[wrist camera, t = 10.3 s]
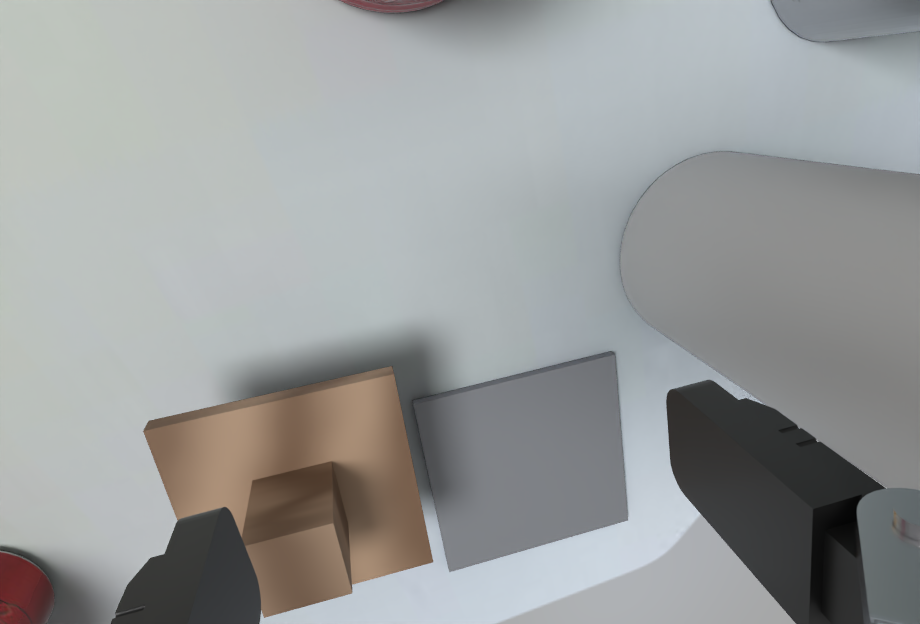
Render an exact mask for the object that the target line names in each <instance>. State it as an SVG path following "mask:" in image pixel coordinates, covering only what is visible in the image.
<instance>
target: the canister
mask: <svg viewBox="0 0 920 624" xmlns="http://www.w3.org/2000/svg"><path fill="white" fill-rule="evenodd" d="M340 1H342V2H344V3H346V4H349V5H352V6H355V7H358V8H361V9H365V10H370V11H375V12H384V13H401V12H410V11H416V10H420V9H424V8H427V7H430V6H433V5H436V4H438V3H440V2H442V1H444V0H340Z"/></svg>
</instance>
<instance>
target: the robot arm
mask: <svg viewBox="0 0 920 624" xmlns="http://www.w3.org/2000/svg"><path fill="white" fill-rule="evenodd" d="M772 3H773V6H774V8H775V10H776V12H777V14H778V16H779V18H780V19H781V20H782V21H783V22H784V24H785V25H786V26H787V27H788V28H789V29H790V30H791V31H793V32H794V33H795V34H797V35H798V36H800V37H802V38H805V39H808V40H811V41H818V42H830V41H839V40H847V39H855V38H864V37H872V36H883V35H891V34H900V33H908V32H916V31H920V0H772ZM666 403H667V419H668V433H669V448H670V461H671V467H672V471H673V474H674V477H675V479H676V481H677V483H678V485H679V487H680V489H681V491H682V492H683V493H684V495H685V496H686V497H687V498H688V499H689V501H690V502H691V503H692V504H693V505H694V506H695V508H696V509H697V510H698V511H699V512H700V513H701V514H702V516H703V517H704V518H705V519H706V520H707V521H708V523H709V524H710V525H711V526H712V527H713V528H714V529H715V530H716V532H717V533H718V534H719V535H720V536H721V538H722V539H723V540H724V541H725V542H726V543H727V544H728V546H729V547H730V548H731V549H732V550H733V551H734V552H735V554H736V555H737V556H738V557H739V558H740V559H741V561H742V562H743V563H744V564H745V565H746V566H747V568H749V570H750V571H751V572H752V573H753V574H754V576H755V577H756V578H757V579H758V580H759V581H760V583H761V584H762V585H763V586H764V587H765V588H766V589H767V591H768V592H769V593H770V594H771V595H772V596H773V597H774V599H775V600H776V601H777V602H778V603H779V604H780V606H781V607H782V608H783V609H784V610H785V611H786V613H787V614H788V615H789V616H790V617H791V618H792V619H793V621H794V622H795V623H796V624H920V490H916V489H909V488H888V489H886V488H884V487H883V486H882V485H880V484H879V483H878V482H876V481H875V480H873V479H872V478H871V477H869V476H868V475H866V474H865V473H864V472H862V471H861V470H859V469H858V468H857V467H855V466H854V465H853V464H851V463H850V462H848V461H847V460H846V459H844V458H843V457H841V456H840V455H839V454H837V453H836V452H834V451H833V450H832V449H830V448H829V447H827V446H826V445H825V444H823V443H822V442H817V441H816V438H815V437H814V436H812V435H811V434H809V433H808V432H807V431H805V430H804V429H802V428H800V429H799V428H798V426H797V424H795V423H794V422H793V421H791V420H790V419H788V418H787V417H786V416H784V415H783V414H781V413H780V412H779V411H777V410H776V409H774V408H771V407H768V406H766V405H763V404H760V403H758V402H755V401H752V400H749V399H747V398H745V399H741V400H738V399H736V398H735V397H734V396H732V395H731V394H730V393H728V392H727V391H726V390H724V389H723V388H722V387H721V386H719V385H718V384H717V383H715V382H714V381H711V380H706V381H702V382H698V383H694V384H691V385H687V386H683V387H679V388H675V389H672V390H670V391H669V392H668V394H667V400H666ZM115 614H116V618H114V619H112V622H111V624H259V622H260V615H261V596H260V588H259V583H258V579H257V576H256V573H255V570H254V568H253V565H252V563H251V560H250V558H249V555H248V553H247V550H246V547H245V545H244V542H243V540H242V537H241V535H240V532H239V530H238V527H237V525H236V522H235V519H234V517H233V515H232V513H231V511H230V510H229V509H228V508H227V507H222V508H218V509H214V510H211V511H207V512H203V513H199V514H195V515H192V516H188V517H184V518H181V519H179V520H178V521H177V523H176V525H175V528H174V531H173V533H172V536H171V539H170V541H169V544H168V547H167V549H166V552H165V554H163V555H160V556H156V557H152V558H150V559H149V560H148V562H147V563H146V564H145V565H144V566H143V567H142V569H141V570H140V571H139V572H138V573H137V574H136V576H135V577H134V578H133V579H132V580H131V581H130V583H129V584H128V585H127V587H126V589H125V592H124V594H123V596H122V599H121V601H120V603H119V605H118V608H117V610H116V612H115Z"/></svg>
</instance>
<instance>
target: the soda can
mask: <svg viewBox="0 0 920 624" xmlns="http://www.w3.org/2000/svg"><path fill="white" fill-rule="evenodd" d="M54 604H55V594H54V590H53V586H52V584H51V582H50V580H49V578H48V577H47V575H46V574H45V573H44V572H43V571H42V570H41V569H40V568H39V566H37V565H36V564H35V563H33V562H32V561H30V560H29V559H27V558H25V557H22V556H20V555H17V554H14V553H11V552H6V551H0V624H47V622H48V620H49V618H50V616H51V614H52V611H53V607H54Z"/></svg>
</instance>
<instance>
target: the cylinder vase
mask: <svg viewBox="0 0 920 624" xmlns="http://www.w3.org/2000/svg"><path fill="white" fill-rule="evenodd" d="M620 272H621V278H622V283H623V287H624V290H625V293H626V295H627V297H628V299H629V301H630V303H631V305H632V307H633V308H634V310H635V311H636V312H637V314H638V315H639V316H640V317H641V318H642V319H643V320H644V321H645V322H646V323H647V324H649V325H650V326H651V327H653V328H654V329H656V330H657V331H659V332H660V333H661V334H663V335H664V336H666V337H667V338H669V339H670V340H672V341H673V342H675V343H676V344H678V345H679V346H680V347H682V348H683V349H685V350H686V351H688V352H689V353H691V354H692V355H694V356H695V357H697V358H698V359H699V360H701V361H702V362H704V363H705V364H707V365H708V366H710V367H711V368H713V369H714V370H716V371H717V372H718V373H720V374H721V375H723V376H724V377H726V378H727V379H729V380H730V381H732V382H733V383H735V384H736V385H738V386H739V387H740V388H742V389H743V390H745V391H746V392H748V393H749V394H751V395H752V396H754V397H755V398H757V399H758V400H759V401H761V402H762V403H764V404H765V405H767V406H768V407H771V408H774V409H776V410H777V411H779V412H780V413H781V414H783V415H784V416H786V417H787V418H788V419H790V420H791V421H793V422H794V423H795V424H797V426H798V427H799V428H802V429H804V430H805V431H807V432H808V433H809V434H811V435H812V436H814V437H815V438H816V440H818V441H819V442H822V443H823V444H825V445H826V446H827V447H829V448H830V449H832V450H833V451H834V452H836V453H837V454H839V455H840V456H841V457H843V458H844V459H846V460H847V461H849V462H850V463H852V464H853V465H855V466H856V467H857V468H859V469H860V470H862V471H863V472H865V473H866V474H868V475H869V476H871V477H872V478H874V479H875V480H876V481H878V482H880V483H881V484H882V485H884V486H885V487H887V488H909V489H916V490H920V174H912V173H904V172H896V171H887V170H879V169H871V168H863V167H854V166H846V165H838V164H830V163H821V162H813V161H805V160H797V159H788V158H780V157H772V156H764V155H755V154H747V153H739V152H729V151H719V152H711V153H705V154H701V155H698V156H695V157H692V158H690V159H687V160H685V161H683V162H681V163H679V164H677V165H676V166H674V167H672V168H671V169H669V170H668V171H667V172H665V173H664V174H663V175H662V176H660V177H659V178H658V179H657V180H656V181H655V182H654V183H653V184H652V185H651V186H650V187H649V188H648V189H647V191H646V192H645V193H644V194H643V196H642V197H641V199H640V200H639V202H638V203H637V205H636V206H635V208H634V210H633V212H632V214H631V216H630V218H629V220H628V223H627V225H626V228H625V231H624V235H623V239H622V244H621V251H620Z"/></svg>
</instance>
